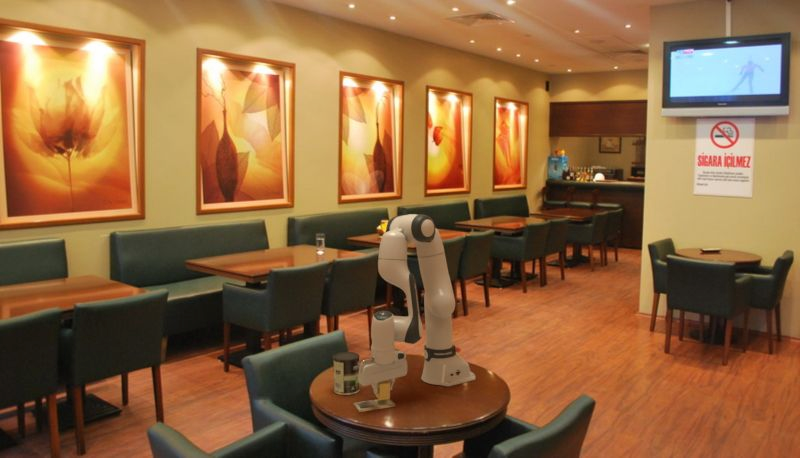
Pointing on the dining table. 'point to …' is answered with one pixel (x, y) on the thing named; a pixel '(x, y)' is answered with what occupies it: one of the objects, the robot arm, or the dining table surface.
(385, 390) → the yellow rectangular block
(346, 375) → the coffee can
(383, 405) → the banknote
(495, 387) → the dining table surface
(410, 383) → the dining table surface
